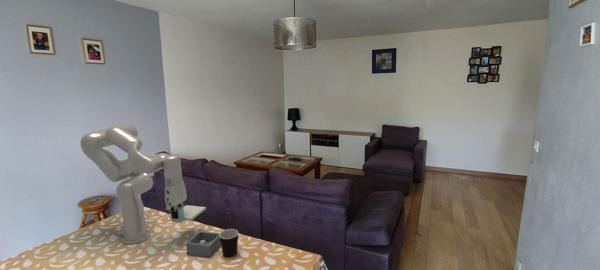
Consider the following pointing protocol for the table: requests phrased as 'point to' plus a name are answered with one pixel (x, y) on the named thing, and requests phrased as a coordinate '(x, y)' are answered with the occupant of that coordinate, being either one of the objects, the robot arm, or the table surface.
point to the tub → (203, 244)
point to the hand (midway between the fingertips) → (177, 216)
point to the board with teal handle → (187, 213)
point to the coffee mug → (229, 242)
